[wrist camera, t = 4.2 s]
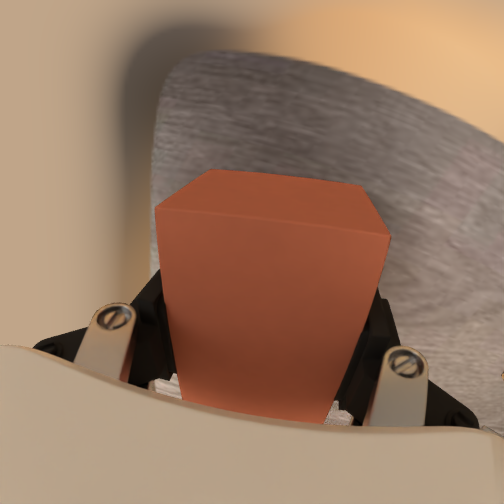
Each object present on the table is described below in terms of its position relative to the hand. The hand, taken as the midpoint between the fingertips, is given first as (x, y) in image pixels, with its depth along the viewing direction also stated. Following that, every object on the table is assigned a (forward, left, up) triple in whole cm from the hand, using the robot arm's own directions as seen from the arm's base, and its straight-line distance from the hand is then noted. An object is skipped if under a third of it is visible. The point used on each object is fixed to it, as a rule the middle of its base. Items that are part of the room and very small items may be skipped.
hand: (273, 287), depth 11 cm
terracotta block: (0, 0, 0) cm, 0 cm away
